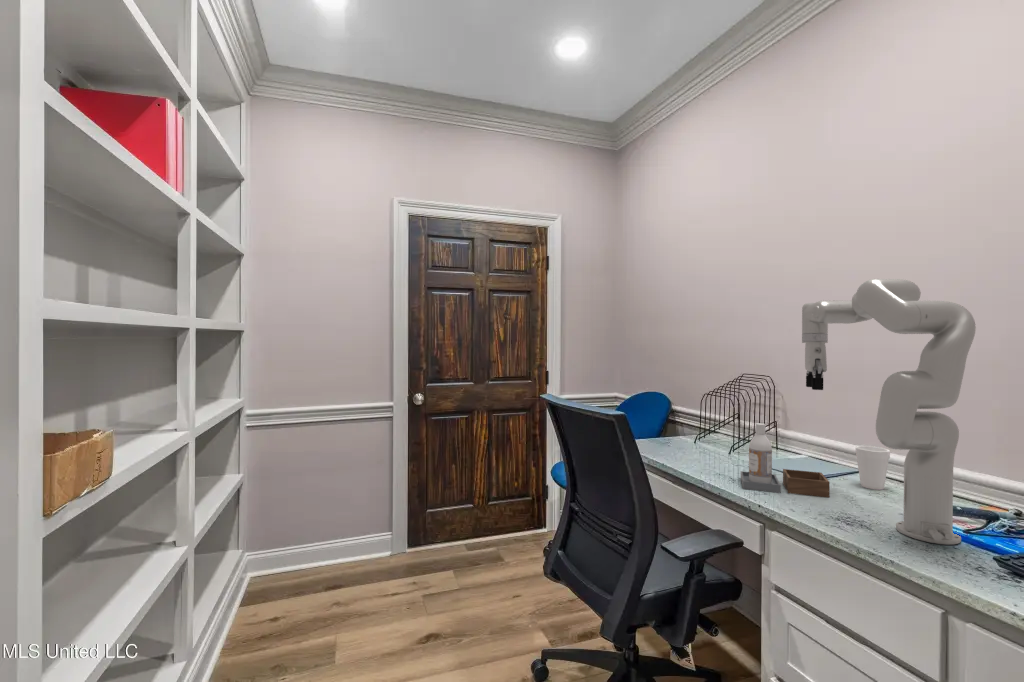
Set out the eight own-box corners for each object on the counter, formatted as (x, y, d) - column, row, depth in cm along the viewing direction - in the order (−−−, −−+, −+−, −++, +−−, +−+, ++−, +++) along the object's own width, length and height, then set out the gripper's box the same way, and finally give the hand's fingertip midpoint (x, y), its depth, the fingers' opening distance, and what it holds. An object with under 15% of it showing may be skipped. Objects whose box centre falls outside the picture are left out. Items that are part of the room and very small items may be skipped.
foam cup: (896, 492, 156) (896, 452, 156) (864, 490, 158) (864, 451, 158) (879, 483, 166) (880, 446, 165) (850, 481, 167) (850, 445, 167)
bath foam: (744, 480, 165) (744, 422, 165) (760, 478, 167) (760, 421, 167) (760, 485, 158) (760, 426, 158) (776, 484, 160) (776, 425, 160)
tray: (780, 493, 155) (780, 485, 155) (743, 488, 159) (743, 481, 159) (775, 481, 167) (775, 474, 167) (740, 478, 171) (740, 471, 171)
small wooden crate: (829, 497, 151) (829, 481, 151) (788, 493, 155) (788, 477, 155) (821, 487, 161) (821, 472, 161) (782, 483, 165) (783, 469, 165)
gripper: (833, 338, 154) (833, 391, 154) (821, 338, 170) (821, 386, 170) (807, 338, 157) (806, 390, 157) (797, 338, 173) (797, 385, 173)
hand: (814, 388), depth 164 cm, fingers open, 9 cm apart
